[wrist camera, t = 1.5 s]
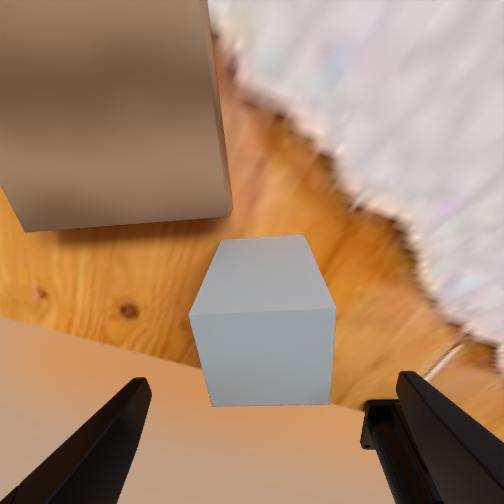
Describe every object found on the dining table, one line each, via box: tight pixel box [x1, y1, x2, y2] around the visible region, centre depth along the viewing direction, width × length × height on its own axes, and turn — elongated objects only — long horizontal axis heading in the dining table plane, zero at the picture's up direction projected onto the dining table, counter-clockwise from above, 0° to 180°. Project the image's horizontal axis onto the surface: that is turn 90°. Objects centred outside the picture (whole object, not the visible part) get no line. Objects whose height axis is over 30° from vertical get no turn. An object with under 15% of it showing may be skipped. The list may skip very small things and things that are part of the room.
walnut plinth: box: [0, 0, 233, 232], centre depth 11 cm, size 11×11×2 cm
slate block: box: [189, 234, 336, 407], centre depth 12 cm, size 5×5×7 cm
